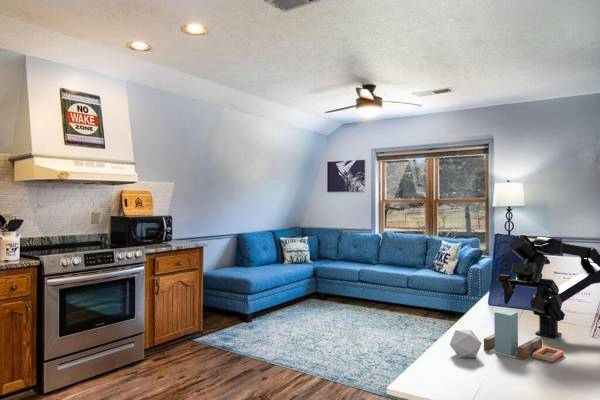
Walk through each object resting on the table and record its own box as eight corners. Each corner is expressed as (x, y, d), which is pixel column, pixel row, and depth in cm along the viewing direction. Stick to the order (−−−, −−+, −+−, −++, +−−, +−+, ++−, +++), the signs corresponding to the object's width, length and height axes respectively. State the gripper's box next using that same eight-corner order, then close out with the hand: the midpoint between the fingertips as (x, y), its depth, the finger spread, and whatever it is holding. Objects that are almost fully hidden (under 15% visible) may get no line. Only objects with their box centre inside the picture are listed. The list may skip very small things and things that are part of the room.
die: (477, 366, 126) (489, 336, 129) (450, 350, 127) (463, 321, 130) (467, 365, 134) (478, 337, 136) (442, 350, 135) (454, 323, 138)
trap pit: (544, 350, 135) (544, 346, 135) (563, 355, 131) (563, 350, 131) (532, 358, 130) (532, 353, 130) (552, 363, 125) (552, 358, 125)
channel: (504, 339, 146) (504, 329, 146) (542, 348, 137) (542, 337, 137) (483, 349, 137) (483, 338, 137) (522, 360, 128) (522, 348, 128)
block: (502, 347, 138) (501, 309, 138) (518, 351, 134) (517, 312, 134) (494, 351, 135) (494, 312, 134) (510, 355, 131) (510, 315, 131)
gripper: (497, 251, 152) (481, 288, 146) (551, 254, 137) (537, 295, 130) (510, 270, 157) (496, 306, 150) (565, 275, 141) (552, 315, 135)
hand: (518, 305), depth 141 cm, fingers open, 9 cm apart
